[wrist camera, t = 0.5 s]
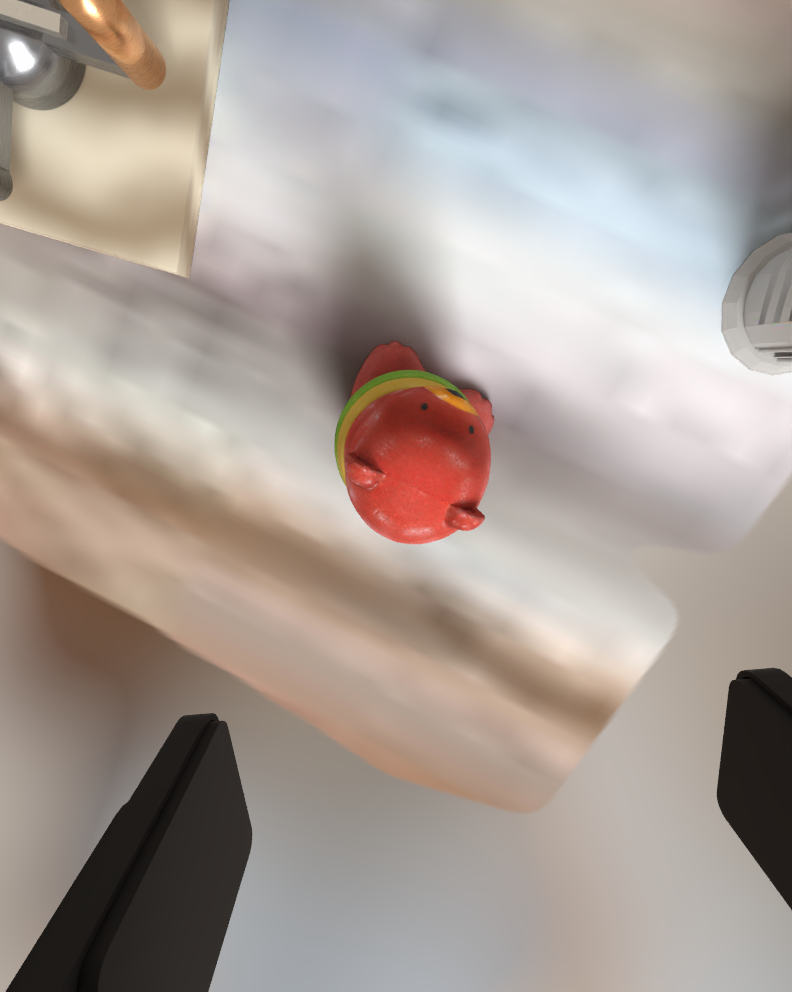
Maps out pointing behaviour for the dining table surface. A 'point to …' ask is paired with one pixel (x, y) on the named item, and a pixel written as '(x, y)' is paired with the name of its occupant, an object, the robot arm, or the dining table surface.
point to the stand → (126, 148)
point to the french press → (762, 309)
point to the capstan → (65, 56)
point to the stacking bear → (413, 449)
